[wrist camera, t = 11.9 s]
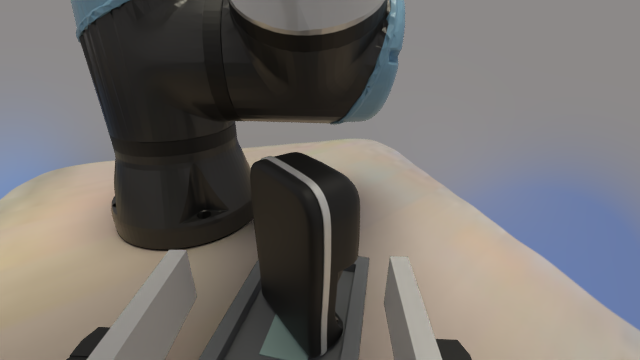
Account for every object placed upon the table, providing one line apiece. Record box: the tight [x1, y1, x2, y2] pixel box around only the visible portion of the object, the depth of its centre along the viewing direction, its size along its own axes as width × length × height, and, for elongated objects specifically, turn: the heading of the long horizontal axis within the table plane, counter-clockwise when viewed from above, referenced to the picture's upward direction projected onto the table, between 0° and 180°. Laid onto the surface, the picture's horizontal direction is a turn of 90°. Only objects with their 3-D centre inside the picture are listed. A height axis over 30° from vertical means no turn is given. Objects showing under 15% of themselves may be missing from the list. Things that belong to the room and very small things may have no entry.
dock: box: [199, 256, 369, 360], centre depth 22 cm, size 12×9×2 cm
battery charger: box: [250, 152, 360, 358], centre depth 19 cm, size 7×4×11 cm, turn 37°
